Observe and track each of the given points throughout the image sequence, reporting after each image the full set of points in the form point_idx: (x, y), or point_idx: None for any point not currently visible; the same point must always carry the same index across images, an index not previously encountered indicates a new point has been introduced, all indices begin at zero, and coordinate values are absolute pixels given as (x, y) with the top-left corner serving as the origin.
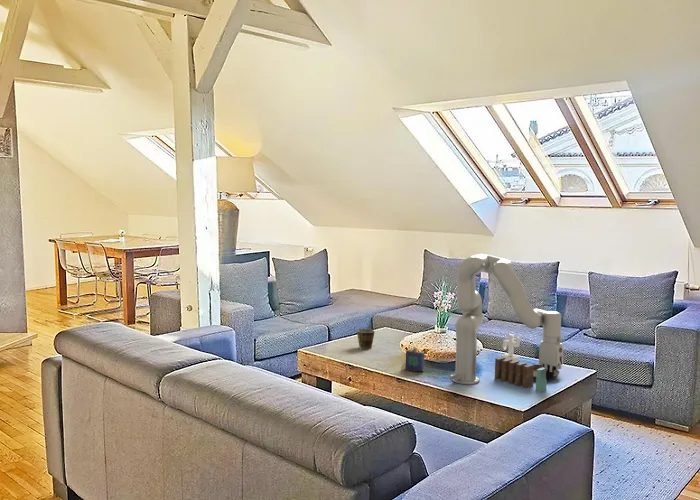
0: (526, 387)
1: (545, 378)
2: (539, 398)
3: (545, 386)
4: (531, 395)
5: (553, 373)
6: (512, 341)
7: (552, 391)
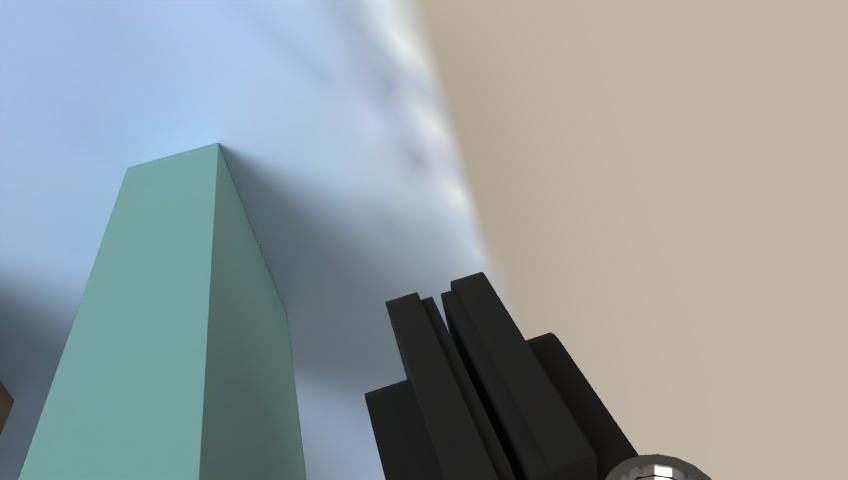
0: (8, 409)
1: (229, 318)
2: None
3: (226, 200)
4: (370, 476)
5: (616, 436)
6: None
7: (341, 85)
